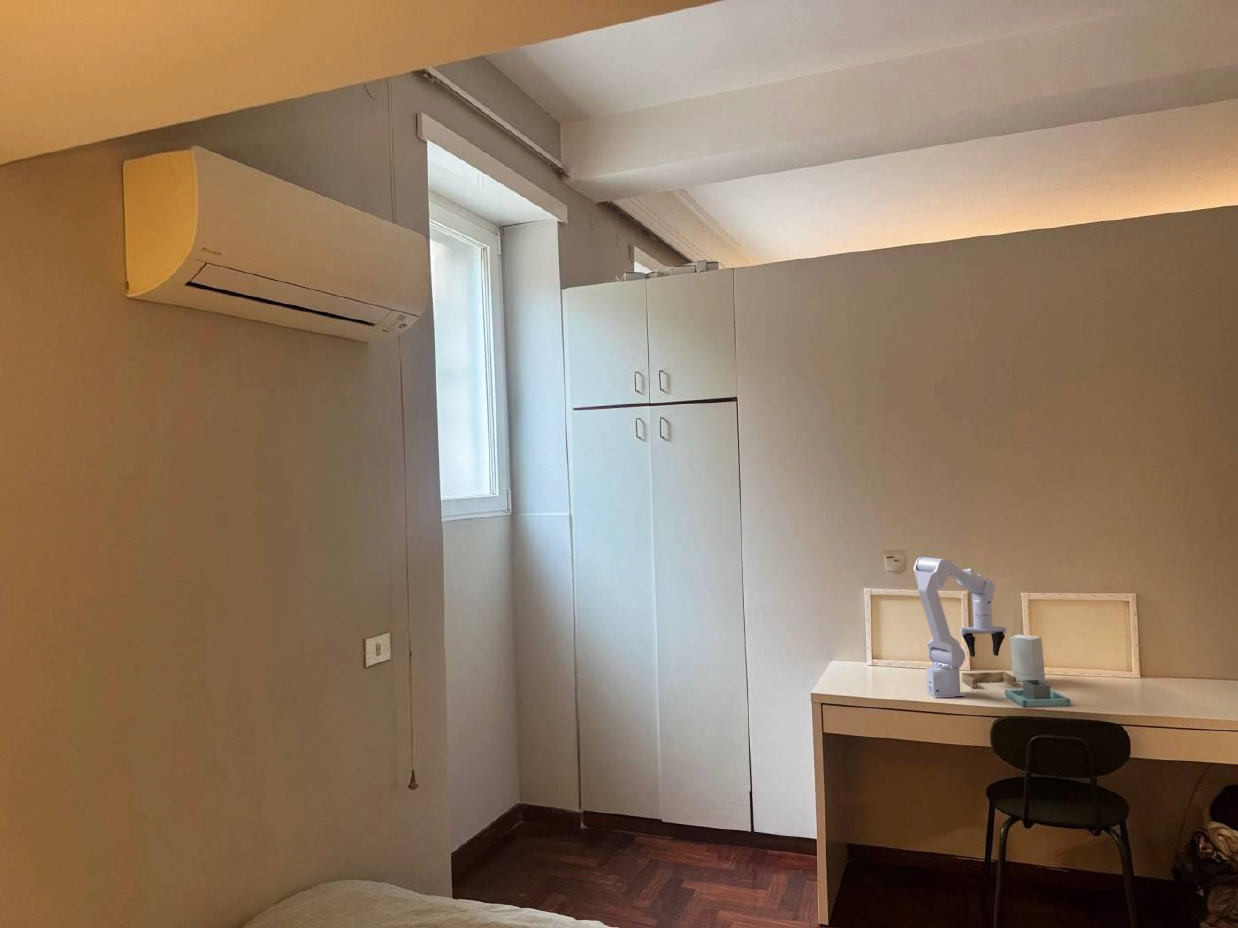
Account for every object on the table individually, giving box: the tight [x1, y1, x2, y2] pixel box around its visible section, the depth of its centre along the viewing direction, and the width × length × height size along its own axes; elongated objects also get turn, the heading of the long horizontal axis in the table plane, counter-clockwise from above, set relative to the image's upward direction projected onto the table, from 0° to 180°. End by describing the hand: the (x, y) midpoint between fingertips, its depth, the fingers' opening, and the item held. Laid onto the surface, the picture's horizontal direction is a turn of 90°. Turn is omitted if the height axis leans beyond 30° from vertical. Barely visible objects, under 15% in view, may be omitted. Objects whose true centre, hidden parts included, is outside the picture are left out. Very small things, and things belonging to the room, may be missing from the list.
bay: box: [961, 671, 1017, 689], centre depth 273 cm, size 14×8×3 cm, turn 89°
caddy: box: [1022, 680, 1051, 700], centre depth 253 cm, size 5×7×5 cm
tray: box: [1004, 688, 1072, 708], centre depth 253 cm, size 14×12×2 cm
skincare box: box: [1009, 633, 1046, 683], centre depth 275 cm, size 8×6×15 cm
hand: (984, 655), depth 273 cm, fingers open, 7 cm apart
